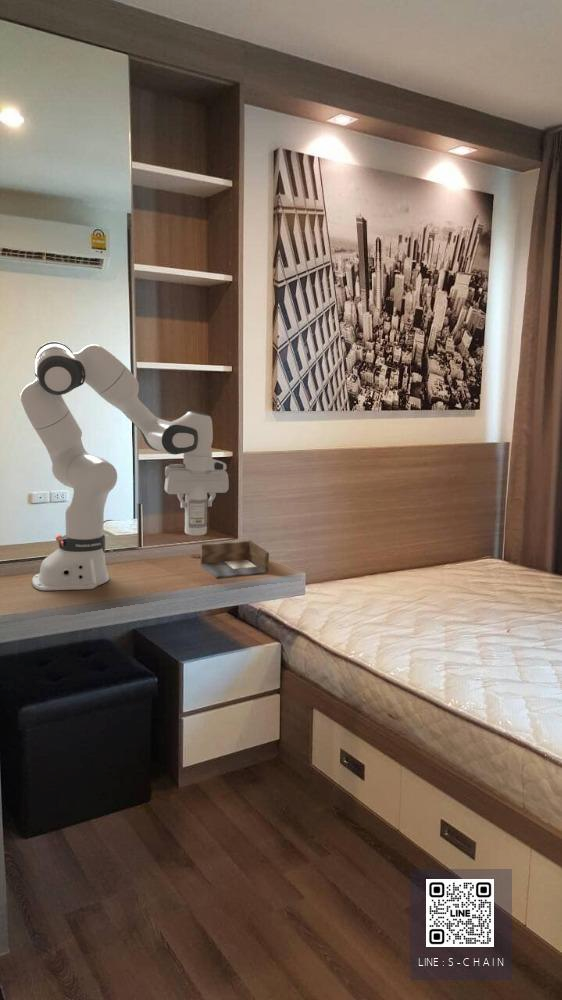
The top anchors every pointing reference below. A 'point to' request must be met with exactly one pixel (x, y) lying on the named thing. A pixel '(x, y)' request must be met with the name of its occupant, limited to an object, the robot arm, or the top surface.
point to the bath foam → (196, 512)
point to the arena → (234, 559)
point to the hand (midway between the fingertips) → (196, 507)
